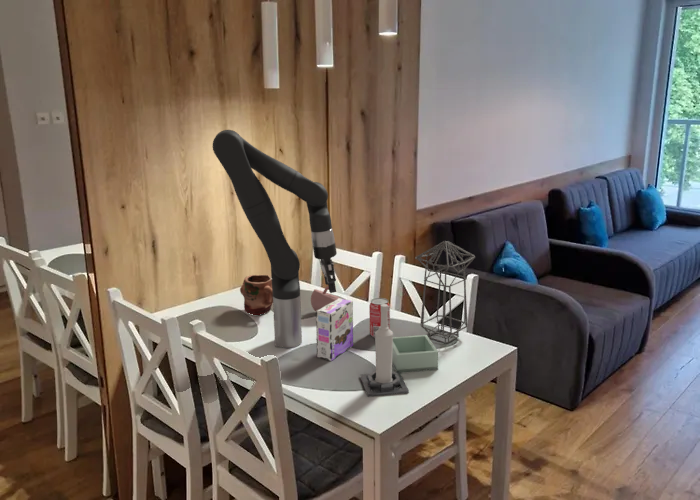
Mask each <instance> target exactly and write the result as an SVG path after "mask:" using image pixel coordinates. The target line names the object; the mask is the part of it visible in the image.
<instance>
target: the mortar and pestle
mask: <svg viewBox="0 0 700 500" xmlns="http://www.w3.org/2000/svg"><path fill="white" fill-rule="evenodd" d="M328 291H329V286H328V285H326V287H325V288H324V289H323V290H319V289H317V288H315V289H313V291H312V293H311V296H310V304H311V307H312V309H313V310H314V312H316V310H319V309H321V308H322V307H324V306H326V305H328V304H330V303H332V302H333V301H335V300H337V299H338V298H340V299H342V298H341V297H339V296H338V295H335V294H332V293H328Z"/></svg>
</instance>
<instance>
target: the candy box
mask: <svg viewBox="0 0 700 500" xmlns="http://www.w3.org/2000/svg"><path fill="white" fill-rule="evenodd" d="M340 298H341V297H340ZM340 298H338V299H337V300H335V301H333V302H332V303H330V304H328V305H326V306H324V307H322V308H321V309H319V310H316V311H315V317H316V318H315V322H316V325H315V326H316V357H317V358H320V359H324V360H327V361H330V362H331V361H334V360H335V359H337V358H338V357H339V356H340V355H342V354H343V353H345V352H346V351H348V350H350V349H351V348H352V347H353V346H354V314H353V313H354V310H353V309H354V308H353V307H354V306H353V305H354V303H353V300H349V299H346V298H345V299H344V298H341V299H340Z"/></svg>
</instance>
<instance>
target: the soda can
mask: <svg viewBox="0 0 700 500" xmlns="http://www.w3.org/2000/svg"><path fill="white" fill-rule="evenodd" d="M381 304H387V305H388V327H389V329H390V330H391V305H390V303H389V299H387V298H384V297H376V298H373V299H371V300H370V303H369V313H368V314H369V334H370V336H371V337H372V338H373V339H375V332H376V331H377V330H378V329H379V328H380V326H381Z"/></svg>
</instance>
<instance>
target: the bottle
mask: <svg viewBox="0 0 700 500" xmlns="http://www.w3.org/2000/svg"><path fill="white" fill-rule="evenodd" d="M393 337H394V331H392V330H391V328H390V329H389V327H388V305H387V304H381V326H380V328H379V329H378V330H377V331H376V332H375V338H374V340H375V341H374V342H375V343H374V344H375V370H376V378H375V381H376V382H380V383H389V382H392V381H393V379H392V371H393V364H392V350H393Z"/></svg>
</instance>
